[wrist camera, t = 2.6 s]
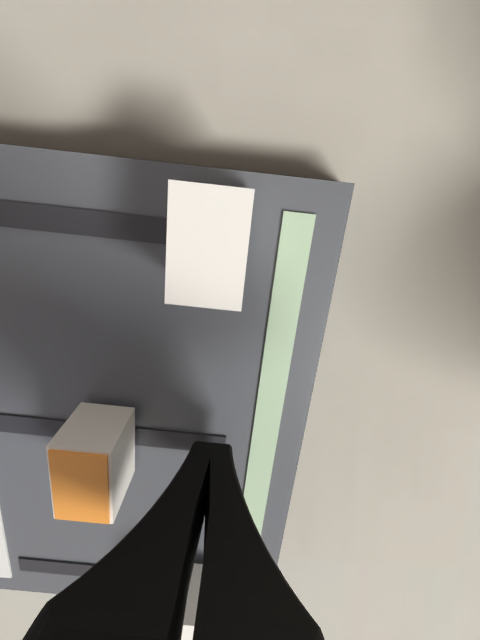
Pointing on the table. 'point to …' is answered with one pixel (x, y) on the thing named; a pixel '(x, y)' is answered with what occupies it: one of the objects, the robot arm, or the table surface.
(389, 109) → the table surface
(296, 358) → the panel
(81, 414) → the block
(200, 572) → the block
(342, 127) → the table surface
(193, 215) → the block
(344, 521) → the table surface
